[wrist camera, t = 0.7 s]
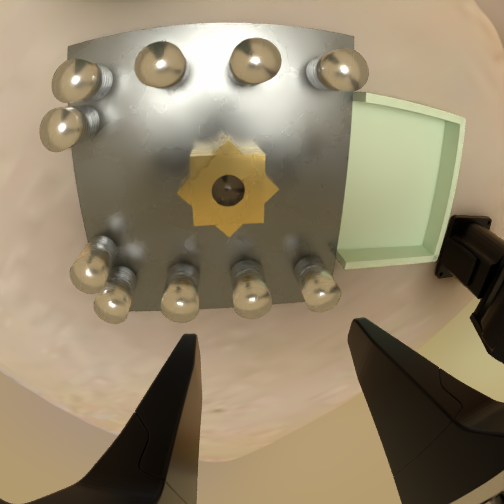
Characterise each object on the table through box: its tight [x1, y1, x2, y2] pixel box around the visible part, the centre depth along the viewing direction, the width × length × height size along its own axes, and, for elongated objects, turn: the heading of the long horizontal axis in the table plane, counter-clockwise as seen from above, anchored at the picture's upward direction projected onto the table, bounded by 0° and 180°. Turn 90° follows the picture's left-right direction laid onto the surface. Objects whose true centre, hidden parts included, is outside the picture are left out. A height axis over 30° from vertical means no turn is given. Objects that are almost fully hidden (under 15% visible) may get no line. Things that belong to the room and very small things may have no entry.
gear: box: [177, 135, 279, 237], centre depth 17 cm, size 6×6×2 cm
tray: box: [336, 92, 466, 270], centre depth 19 cm, size 9×12×2 cm
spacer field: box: [40, 23, 369, 324], centre depth 17 cm, size 18×20×4 cm
